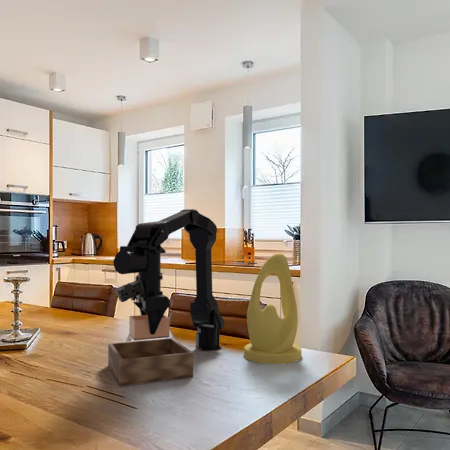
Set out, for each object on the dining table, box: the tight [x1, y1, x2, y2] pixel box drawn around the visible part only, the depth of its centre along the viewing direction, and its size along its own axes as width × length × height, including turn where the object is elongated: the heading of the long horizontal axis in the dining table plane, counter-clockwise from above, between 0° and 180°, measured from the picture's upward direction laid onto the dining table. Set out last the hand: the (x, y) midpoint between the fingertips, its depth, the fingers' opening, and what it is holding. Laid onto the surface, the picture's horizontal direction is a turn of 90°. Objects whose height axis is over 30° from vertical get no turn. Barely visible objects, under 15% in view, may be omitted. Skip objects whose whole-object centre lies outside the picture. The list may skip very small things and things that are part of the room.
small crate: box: [128, 314, 170, 341], centre depth 117 cm, size 9×6×5 cm
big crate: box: [107, 337, 194, 387], centre depth 117 cm, size 18×18×6 cm
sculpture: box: [243, 253, 302, 365], centre depth 133 cm, size 17×17×30 cm
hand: (149, 331), depth 117 cm, fingers closed on small crate, 6 cm apart
